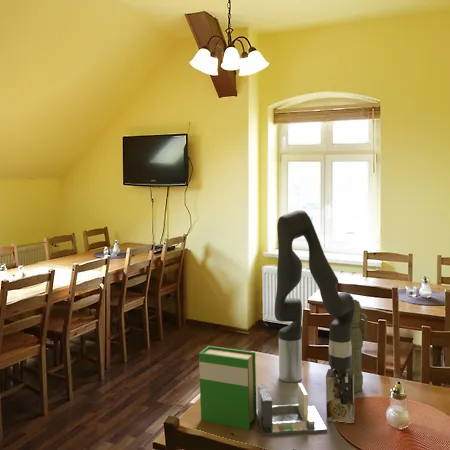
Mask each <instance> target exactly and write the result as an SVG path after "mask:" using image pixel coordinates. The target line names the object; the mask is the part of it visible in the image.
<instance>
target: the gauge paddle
mask: <svg viewBox="0 0 450 450" xmlns="http://www.w3.org/2000/svg"><path fill="white" fill-rule="evenodd" d="M308 395H309V394H308V393H307V391H306V388H305V386H304V385H303V383H302V382H297V404H298V411H299V413H300V415H301V417H302V420H307V426H309V419H308V406H309V401H308V400H309V396H308Z"/></svg>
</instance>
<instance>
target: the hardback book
mask: <svg viewBox="0 0 450 450" xmlns="http://www.w3.org/2000/svg"><path fill="white" fill-rule="evenodd" d="M198 363H199V367H198V369H199V370H198V371H199V393H200V394H199V396H200V421H203V422H204V421H205V422H209V423H213V424H218V425H224V426H227V427H234V428H239V429H243V430H250V429H251V423H252V422H253V421H257V420H258V417H257V413H256V409H257V377H256V375H257V373H256V367H257V366H256V351H253V350H251V351H250V350H245V349H244V350H243V349H238V348H237V349H235V348H228V347H221V346H213V345H207V346H206V347H205V348H204V349H202V350H201V351H199V353H198Z"/></svg>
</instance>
